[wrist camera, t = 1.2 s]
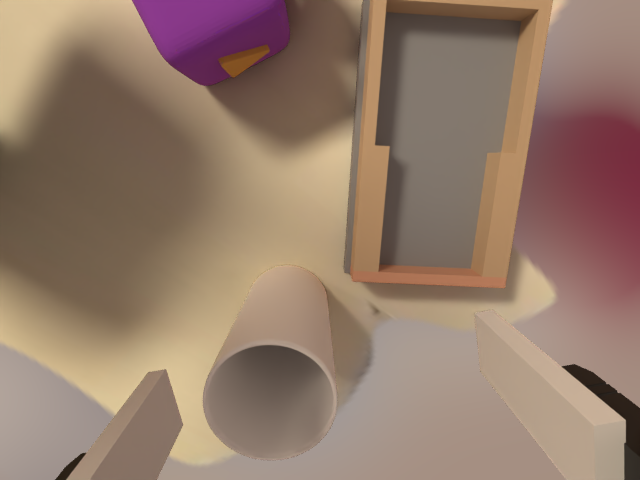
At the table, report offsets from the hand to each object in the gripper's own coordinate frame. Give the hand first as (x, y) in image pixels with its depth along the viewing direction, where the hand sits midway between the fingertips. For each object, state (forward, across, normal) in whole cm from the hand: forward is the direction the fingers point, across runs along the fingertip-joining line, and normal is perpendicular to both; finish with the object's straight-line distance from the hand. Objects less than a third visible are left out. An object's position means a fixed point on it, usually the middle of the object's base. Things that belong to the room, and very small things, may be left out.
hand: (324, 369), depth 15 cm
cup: (+22, -4, -5) cm, 23 cm away
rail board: (+22, +12, +7) cm, 26 cm away
